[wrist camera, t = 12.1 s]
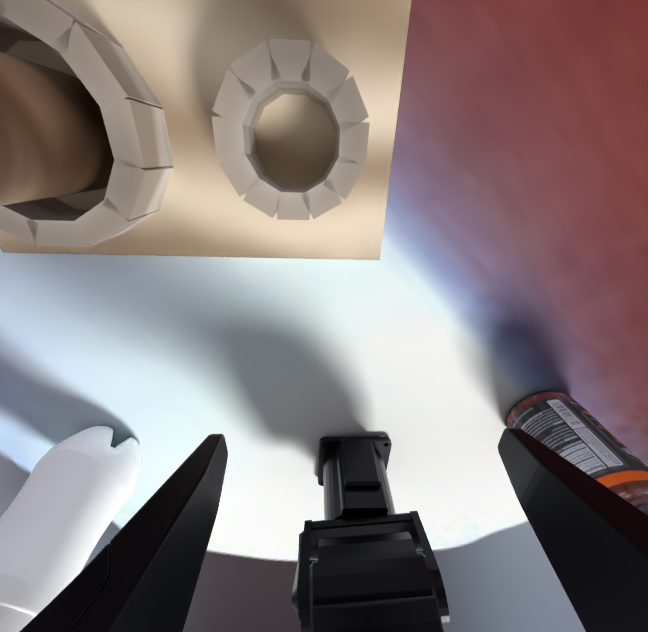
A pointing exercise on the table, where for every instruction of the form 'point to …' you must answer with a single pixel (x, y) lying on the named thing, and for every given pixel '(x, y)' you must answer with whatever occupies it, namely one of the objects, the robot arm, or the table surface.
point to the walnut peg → (48, 134)
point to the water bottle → (61, 519)
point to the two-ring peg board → (221, 125)
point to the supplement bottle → (583, 443)
